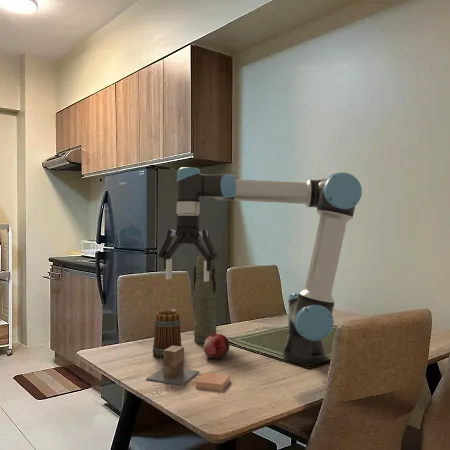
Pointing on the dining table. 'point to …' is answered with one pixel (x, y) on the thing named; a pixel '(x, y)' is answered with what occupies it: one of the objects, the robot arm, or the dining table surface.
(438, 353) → the dining table surface
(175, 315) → the mug
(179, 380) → the coaster
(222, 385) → the tile
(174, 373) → the push block
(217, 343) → the fruit
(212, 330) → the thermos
